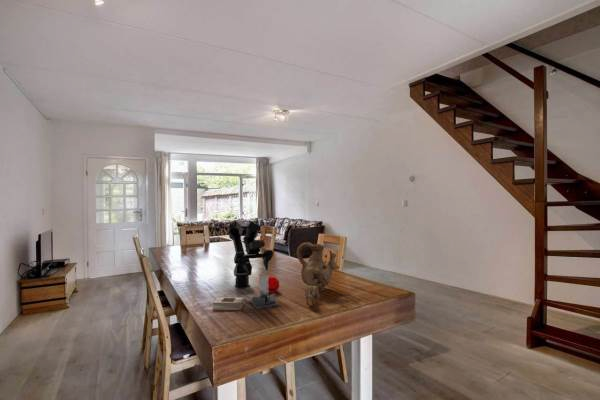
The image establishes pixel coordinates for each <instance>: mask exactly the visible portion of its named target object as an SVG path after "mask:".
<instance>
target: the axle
mask: <svg viewBox="0 0 600 400" xmlns="http://www.w3.org/2000/svg"><path fill="white" fill-rule="evenodd" d="M268 276H269V274H259V297H266V303H267V297H268V296H270V295H269V294H270V293H269V287H268Z"/></svg>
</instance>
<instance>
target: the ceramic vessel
mask: <svg viewBox="0 0 600 400" xmlns="http://www.w3.org/2000/svg"><path fill="white" fill-rule="evenodd" d="M324 247H325V245H324V244H319V243H314V244H313V243H312V242H309V241H307V242H302V243H300V245H299V246H298V247H297V249H296V257H297V260H298V261H299V263H300V264H301V265H302V267H301V269H300V276H301V279H302V282H303V283H304V284H305V285H307V287H308V286H317V287H318V289H319V292H322V291H324V290H325V289H326V288H325V287H326V286H328V285H329V284H330V283H331V281H332V277H333V271H335V270H339V269H340V266H339V265H338V264H337V263H336V261H335V259H336V257H337V254H336V253H333V251H331V250H329V251H328V252H329V261H328V262H327V263H325V262H324V260H323V252H324ZM305 248H309V249H310V250H311V255H309V259H308V262H307V261H305V259H304V258H303V256H302V252H303V249H305Z"/></svg>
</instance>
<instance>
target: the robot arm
mask: <svg viewBox="0 0 600 400" xmlns="http://www.w3.org/2000/svg"><path fill="white" fill-rule="evenodd" d="M259 231H260V226H259V224H256V223H255V221H250V222H249V224H248V223H245V222H244V221H243V220H242V219H234V220H233V221H232V222H231V223H230V224H229V225H228V227H227V234H228V236H229V237H228V238H229V239H230V240H231V241H232V242H233V246H234V251H235V254H234V258H233V261H234V264H235V265H234V269H233V275H234V277H235V284H234V287H236V288H237V289H245V288H249V287H251V286H252V285H251V284H250V281H249V279H250V277H249V276H251V275H252V271H253V266H252V264H251V262H250V259H253V260H254V259H262V260H263V262H262V263H263V265H264V268H265V271H268V270H269V262H270V261H271V260H272V259H273V256H274V251H273V250H272V249H266V250H265V249H264V251H263V253H260V252H261V249H262V248H264V247H265V245H266V244H265V240H264V239H260V240H256V238H257V237H258V234H259ZM242 237H243V239H242ZM242 240H243V241H242ZM243 244H244V245H243ZM244 248H245V250H244ZM245 253H246V254H245Z"/></svg>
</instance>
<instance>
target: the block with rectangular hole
mask: <svg viewBox="0 0 600 400" xmlns="http://www.w3.org/2000/svg"><path fill="white" fill-rule="evenodd" d="M244 300H245V298H244V297H243V296H240V297H239V296H236V297H235V296H234V297H233V296H231V297H230V296H229V297H227V296H226V297H225V296H224V297H221V296H218V297H216V299H214V300H213V302H212V310H213V311H214V310H215V311H219V310H220V311H223V310H225V311H228V310H229V311H233V310H234V311H235V310H236V311H240V310H242V308H243V306H244V304H245V301H244Z"/></svg>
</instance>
